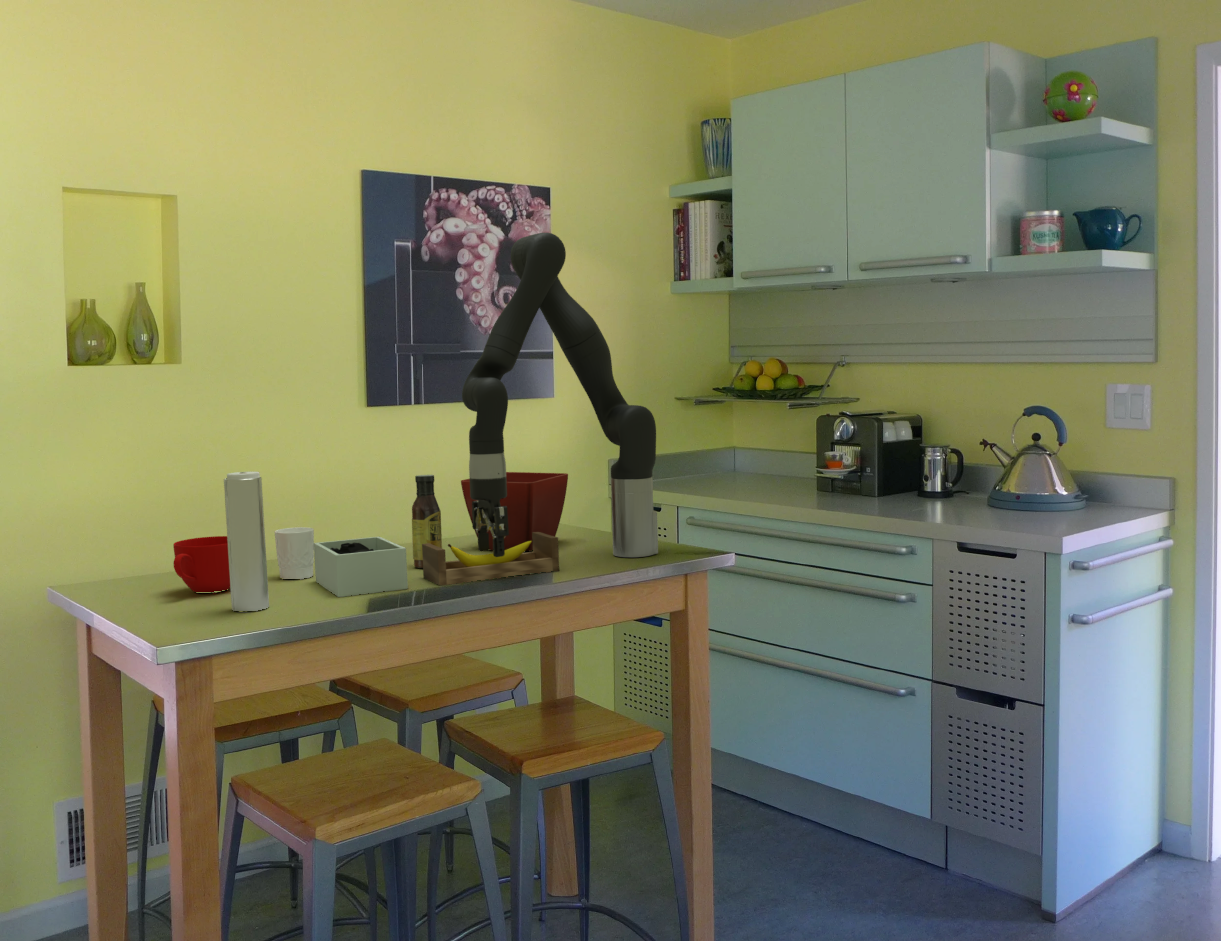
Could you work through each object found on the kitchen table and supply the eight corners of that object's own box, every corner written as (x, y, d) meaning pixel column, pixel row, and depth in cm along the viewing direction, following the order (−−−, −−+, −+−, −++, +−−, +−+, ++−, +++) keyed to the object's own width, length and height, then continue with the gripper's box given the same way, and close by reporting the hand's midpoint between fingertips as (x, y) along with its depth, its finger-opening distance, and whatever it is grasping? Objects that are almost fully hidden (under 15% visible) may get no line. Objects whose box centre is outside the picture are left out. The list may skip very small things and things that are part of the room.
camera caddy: (381, 574, 236) (379, 536, 235) (407, 588, 219) (405, 548, 219) (315, 581, 230) (313, 542, 229) (338, 597, 213) (336, 555, 212)
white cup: (324, 574, 237) (321, 527, 236) (299, 581, 230) (296, 533, 229) (294, 572, 241) (292, 526, 240) (269, 579, 233) (266, 532, 233)
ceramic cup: (149, 601, 215) (145, 549, 214) (203, 583, 231) (200, 535, 230) (207, 602, 212) (204, 550, 211) (258, 585, 228) (255, 536, 227)
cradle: (539, 563, 242) (538, 531, 242) (559, 570, 233) (558, 537, 233) (423, 577, 230) (421, 543, 230) (439, 585, 222) (437, 550, 221)
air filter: (236, 605, 208) (228, 471, 206) (272, 604, 209) (264, 470, 206) (228, 613, 202) (219, 474, 199) (264, 611, 202) (256, 473, 200)
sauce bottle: (436, 569, 239) (432, 476, 238) (409, 569, 241) (404, 476, 239) (447, 563, 246) (443, 473, 244) (420, 563, 247) (416, 473, 245)
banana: (535, 564, 236) (534, 534, 235) (452, 576, 226) (451, 545, 225) (529, 563, 238) (528, 533, 237) (446, 574, 228) (445, 543, 227)
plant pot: (533, 555, 253) (530, 481, 251) (461, 552, 261) (458, 480, 260) (572, 542, 270) (570, 472, 269) (503, 539, 278) (501, 471, 277)
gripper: (518, 476, 225) (521, 556, 227) (492, 471, 238) (495, 547, 240) (483, 479, 222) (486, 560, 223) (458, 474, 235) (462, 551, 236)
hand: (491, 553), depth 231 cm, fingers open, 8 cm apart
